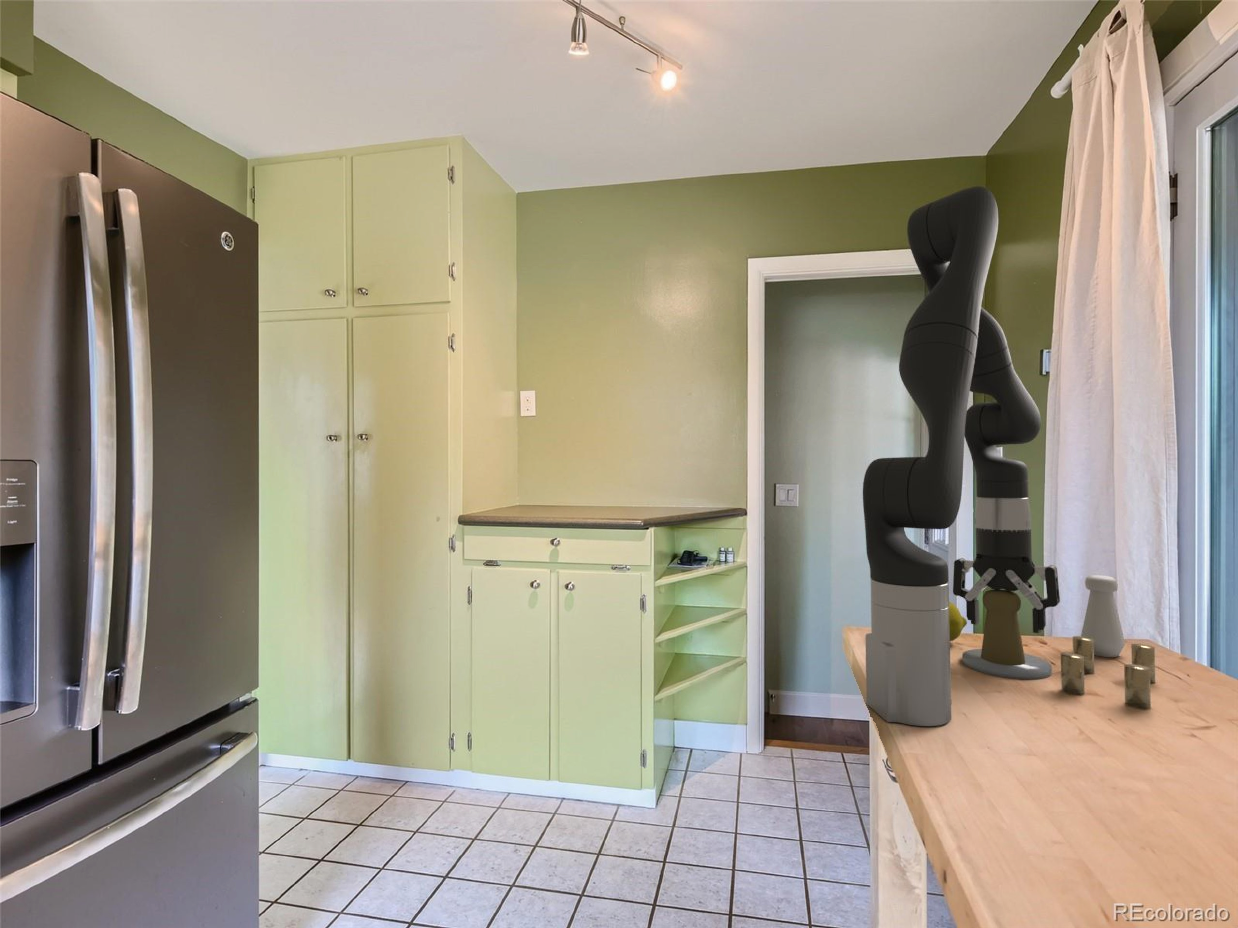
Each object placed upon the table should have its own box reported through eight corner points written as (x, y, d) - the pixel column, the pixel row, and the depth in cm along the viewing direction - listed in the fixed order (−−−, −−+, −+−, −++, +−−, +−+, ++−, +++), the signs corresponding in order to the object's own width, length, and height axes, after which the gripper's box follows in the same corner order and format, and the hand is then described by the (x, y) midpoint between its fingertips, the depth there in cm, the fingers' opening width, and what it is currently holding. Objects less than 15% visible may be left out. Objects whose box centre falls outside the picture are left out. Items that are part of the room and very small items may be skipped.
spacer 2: (1082, 673, 93) (1081, 640, 93) (1069, 668, 96) (1068, 636, 96) (1098, 673, 93) (1098, 640, 93) (1085, 667, 96) (1084, 635, 96)
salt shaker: (1127, 660, 99) (1125, 580, 99) (1083, 655, 102) (1081, 577, 102) (1121, 651, 104) (1119, 574, 104) (1079, 646, 107) (1077, 572, 107)
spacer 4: (1136, 709, 79) (1135, 670, 79) (1119, 701, 82) (1118, 664, 82) (1156, 708, 79) (1155, 670, 79) (1138, 701, 82) (1137, 663, 82)
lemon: (967, 640, 112) (966, 596, 112) (967, 651, 105) (966, 605, 105) (902, 633, 117) (901, 591, 117) (898, 643, 110) (897, 599, 110)
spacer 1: (1071, 694, 85) (1070, 658, 85) (1057, 688, 87) (1056, 653, 87) (1089, 694, 85) (1088, 658, 85) (1074, 687, 87) (1074, 652, 87)
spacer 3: (1142, 683, 89) (1142, 648, 89) (1127, 677, 91) (1126, 643, 91) (1160, 682, 89) (1159, 648, 89) (1144, 676, 91) (1143, 643, 91)
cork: (1032, 666, 94) (1030, 594, 94) (988, 664, 95) (987, 593, 95) (1016, 654, 100) (1014, 587, 100) (975, 652, 101) (973, 586, 101)
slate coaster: (992, 679, 91) (992, 673, 91) (947, 655, 103) (947, 649, 103) (1071, 677, 91) (1071, 671, 91) (1017, 653, 103) (1016, 647, 103)
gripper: (1061, 526, 95) (1063, 630, 95) (959, 521, 105) (961, 616, 105) (1052, 530, 90) (1055, 640, 90) (946, 525, 99) (948, 625, 99)
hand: (1004, 627), depth 97 cm, fingers open, 8 cm apart
